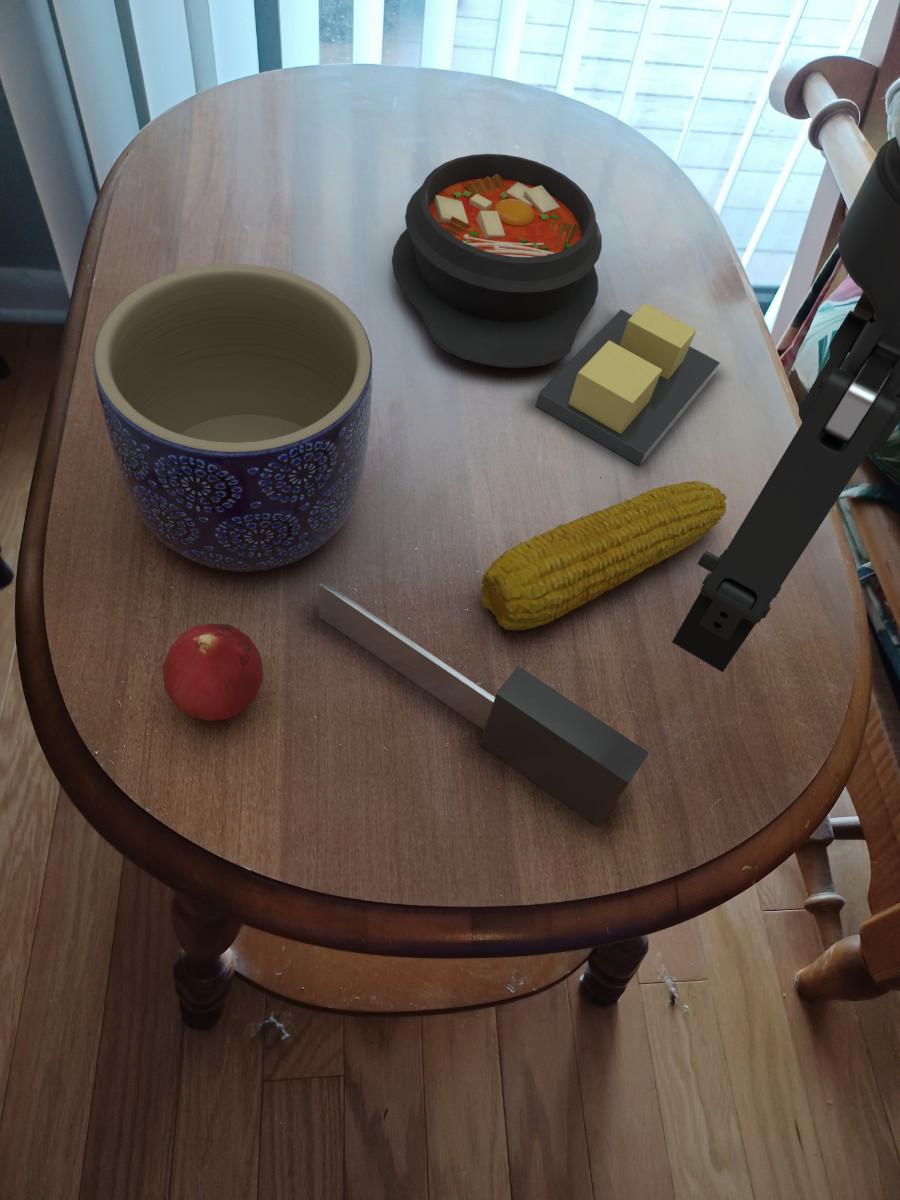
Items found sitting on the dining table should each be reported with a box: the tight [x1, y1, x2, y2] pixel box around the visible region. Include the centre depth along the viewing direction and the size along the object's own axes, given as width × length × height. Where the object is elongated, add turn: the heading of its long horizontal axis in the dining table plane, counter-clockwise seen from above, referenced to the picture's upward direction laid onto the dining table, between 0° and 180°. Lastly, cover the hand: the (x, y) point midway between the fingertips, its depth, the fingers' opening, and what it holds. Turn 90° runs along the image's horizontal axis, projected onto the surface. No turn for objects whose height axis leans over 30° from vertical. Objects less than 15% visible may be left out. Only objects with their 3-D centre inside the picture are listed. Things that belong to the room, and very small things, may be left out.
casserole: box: [391, 153, 603, 369], centre depth 83 cm, size 25×19×8 cm
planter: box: [92, 263, 373, 573], centre depth 63 cm, size 16×17×15 cm
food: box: [480, 480, 728, 631], centre depth 68 cm, size 21×6×6 cm, turn 124°
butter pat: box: [619, 302, 697, 380], centre depth 80 cm, size 5×3×4 cm, turn 55°
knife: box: [318, 580, 649, 828], centre depth 59 cm, size 23×2×7 cm, turn 55°
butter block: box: [568, 341, 662, 434], centre depth 76 cm, size 5×5×4 cm
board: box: [535, 309, 721, 467], centre depth 80 cm, size 10×14×2 cm
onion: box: [162, 623, 264, 722], centre depth 57 cm, size 6×6×8 cm
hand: (756, 562), depth 49 cm, fingers open, 13 cm apart
